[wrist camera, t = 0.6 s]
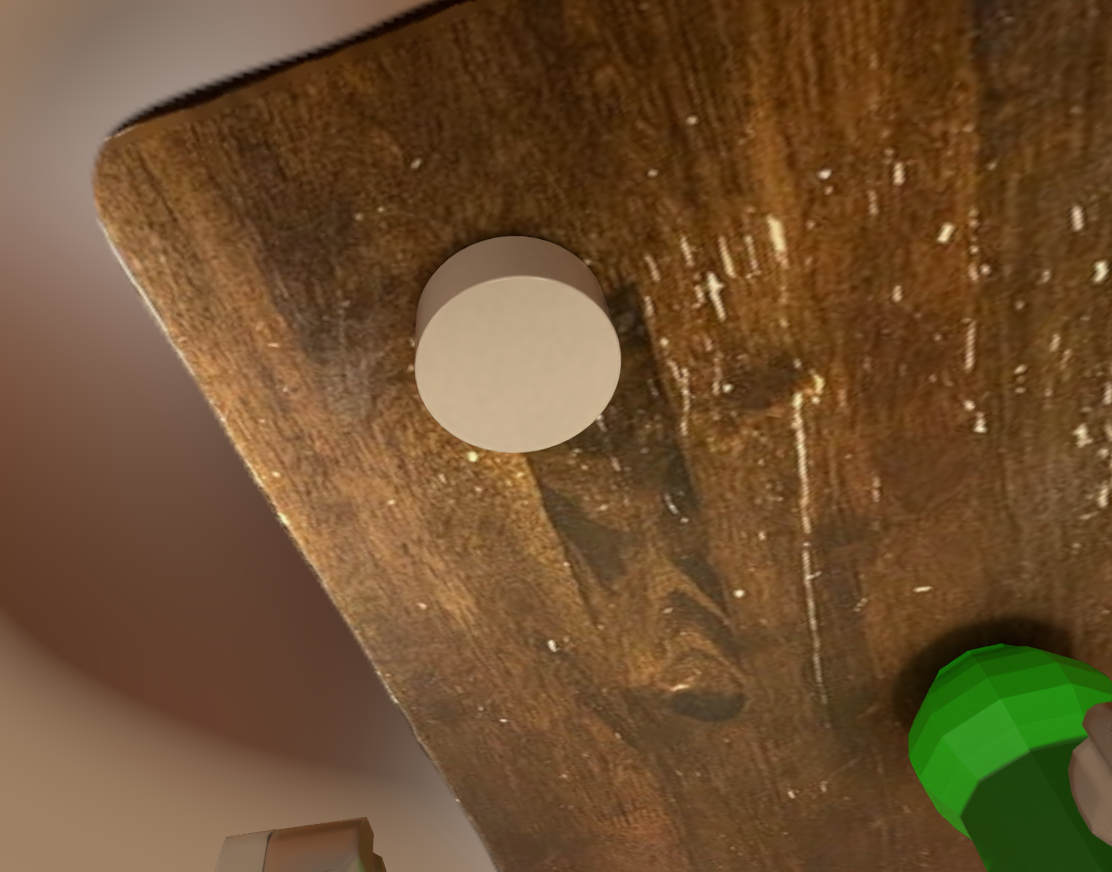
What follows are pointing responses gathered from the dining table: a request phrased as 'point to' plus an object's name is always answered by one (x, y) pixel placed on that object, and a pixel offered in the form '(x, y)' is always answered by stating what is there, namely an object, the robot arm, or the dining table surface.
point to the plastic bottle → (1011, 756)
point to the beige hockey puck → (515, 345)
